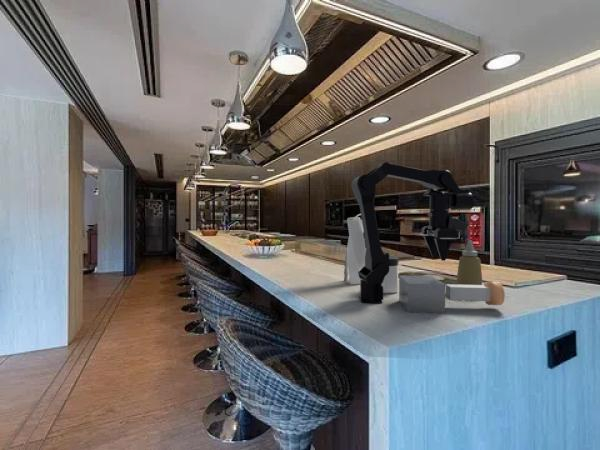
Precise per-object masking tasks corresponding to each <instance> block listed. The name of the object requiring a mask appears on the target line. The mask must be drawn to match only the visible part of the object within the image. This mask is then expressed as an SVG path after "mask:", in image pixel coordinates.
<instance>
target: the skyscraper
mask: <svg viewBox="0 0 600 450" xmlns="http://www.w3.org/2000/svg"><path fill="white" fill-rule="evenodd" d="M359 216H361V213H359V214H357V215H356V216H353V217H348V218H347V219H346V220H347V221H346V222H347V228H348V235H349V236H348V240H347V248H346V249H347V250H346V251H345V258H344V259H345V260H344V272H343V276H344V277H343V282H344V283H345V285H346V286H347V285H348V286H350V285H355V286H356V285H360V280H362V279H360V278H359V275H358V272H359V271H360V270H361V269H362V268H363V267H364V266H365V254H366V242H365V235H364V229H363V223H362V219H361V217H359Z"/></svg>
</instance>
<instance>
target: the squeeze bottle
mask: <svg viewBox="0 0 600 450" xmlns="http://www.w3.org/2000/svg"><path fill="white" fill-rule="evenodd" d="M461 254H462V255H461V256H460V257H459V259H458V267H457V276H456V283H457V285H483V274H482V273H483V272H482V264H481V263H482V261H481V258H480V257H478V250H477V251H476V250H475V248H474V243H473V241H472V240H467V243H466V248H465V250H464V249H463V250H462V253H461Z"/></svg>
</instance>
